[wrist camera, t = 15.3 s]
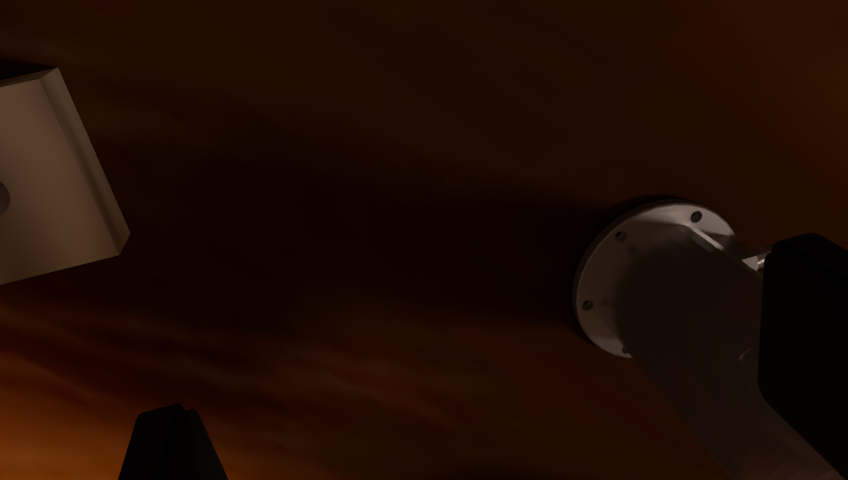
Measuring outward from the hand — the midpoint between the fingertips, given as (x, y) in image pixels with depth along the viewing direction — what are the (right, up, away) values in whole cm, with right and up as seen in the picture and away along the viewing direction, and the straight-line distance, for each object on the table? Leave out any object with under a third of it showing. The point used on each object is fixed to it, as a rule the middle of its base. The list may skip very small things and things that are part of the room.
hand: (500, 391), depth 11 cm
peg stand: (-25, +6, +26) cm, 36 cm away
